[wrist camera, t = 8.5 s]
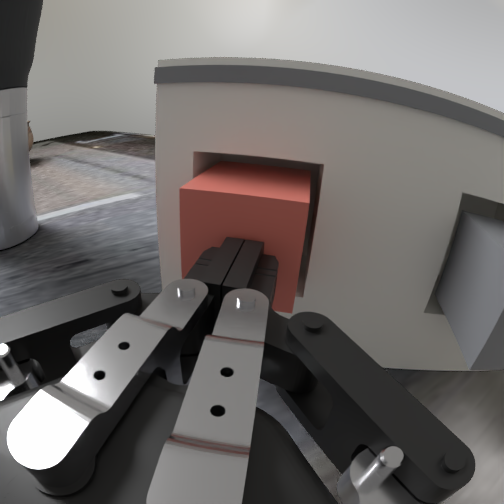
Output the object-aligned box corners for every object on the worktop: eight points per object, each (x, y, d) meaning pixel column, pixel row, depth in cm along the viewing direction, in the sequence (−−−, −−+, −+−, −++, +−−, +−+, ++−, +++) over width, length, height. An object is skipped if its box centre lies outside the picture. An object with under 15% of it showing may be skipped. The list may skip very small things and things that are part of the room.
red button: (182, 294, 14) (179, 188, 12) (218, 241, 20) (221, 160, 17) (292, 313, 14) (309, 203, 11) (299, 253, 19) (310, 170, 17)
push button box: (165, 336, 19) (155, 59, 12) (204, 273, 27) (209, 72, 19) (491, 373, 16) (578, 151, 9) (459, 308, 24) (510, 131, 16)
